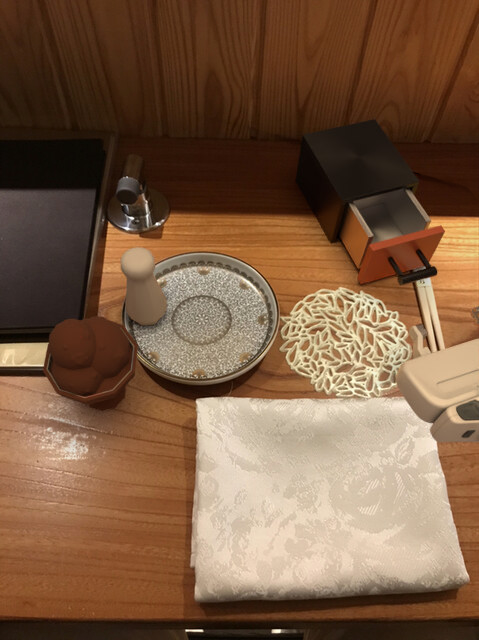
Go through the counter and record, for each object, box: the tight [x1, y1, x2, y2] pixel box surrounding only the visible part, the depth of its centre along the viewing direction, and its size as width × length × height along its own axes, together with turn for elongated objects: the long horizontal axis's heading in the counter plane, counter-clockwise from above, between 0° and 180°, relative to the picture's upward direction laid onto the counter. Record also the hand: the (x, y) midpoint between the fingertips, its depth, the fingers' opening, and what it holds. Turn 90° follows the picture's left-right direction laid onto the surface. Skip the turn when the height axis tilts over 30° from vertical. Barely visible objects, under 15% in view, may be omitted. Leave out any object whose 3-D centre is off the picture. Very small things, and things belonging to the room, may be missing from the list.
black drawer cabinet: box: [295, 118, 420, 244], centre depth 89 cm, size 15×13×10 cm
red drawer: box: [338, 188, 446, 287], centre depth 83 cm, size 18×11×8 cm, turn 19°
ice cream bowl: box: [42, 315, 139, 412], centre depth 67 cm, size 11×11×15 cm
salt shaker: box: [120, 246, 168, 327], centre depth 75 cm, size 6×6×13 cm
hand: (445, 317), depth 74 cm, fingers open, 8 cm apart
